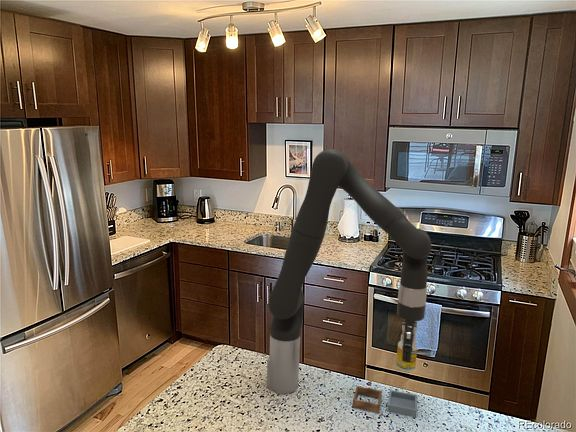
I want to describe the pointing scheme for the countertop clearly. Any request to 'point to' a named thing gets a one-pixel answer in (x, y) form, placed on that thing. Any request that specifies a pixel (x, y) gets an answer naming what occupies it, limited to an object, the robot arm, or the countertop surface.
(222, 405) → the countertop surface
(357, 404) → the wooden square frame
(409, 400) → the tray
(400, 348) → the supplement bottle
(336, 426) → the countertop surface
